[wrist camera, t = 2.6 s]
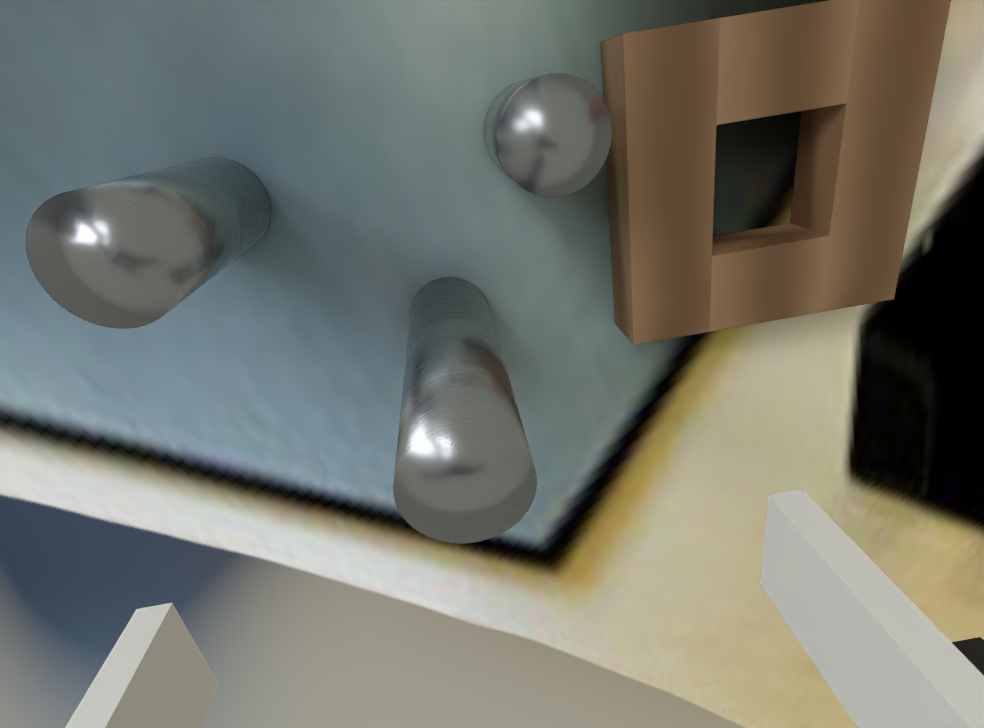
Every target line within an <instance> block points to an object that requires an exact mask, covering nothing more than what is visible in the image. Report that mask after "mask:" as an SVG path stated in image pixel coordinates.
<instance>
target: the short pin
mask: <svg viewBox="0 0 984 728" xmlns="http://www.w3.org/2000/svg"><path fill="white" fill-rule="evenodd" d="M611 137H612V127H611V119H610V115H609V111H608V109H607V106H606V104H605V102H604V100H603V98H602V97H601V96H600V94H599V93H598V92H597V91H596V89H595V88H594V87H593V86H591V85H590V84H589V83H588V82H586V81H584V80H583V79H581V78H579V77H576V76H573V75H569V74H561V73H555V74H548V75H544V76H540V77H536V78H533V79H529V80H525V81H522V82H518V83H515V84H513V85H510V86H509V87H507V88H505V89H504V90H503V91H502V92H500V93H499V94H498V95H497V96H496V98H495V99H494V100H493V102H492V104H491V105H490V107H489V109H488V112H487V115H486V118H485V123H484V139H485V144H486V147H487V150H488V152H489V154H490V156H491V158H492V159H493V161H494V162H495V163H496V164H497V165H498V166H499V167H500V168H501V169H502V170H503V171H504V172H506V173H507V174H508V175H509V176H510V177H511V178H512V179H513V180H515V181H516V182H517V183H518V184H519V185H520V186H521V187H523V188H524V189H526V190H527V191H529V192H531V193H534V194H537V195H540V196H545V197H560V196H565V195H568V194H571V193H574V192H576V191H578V190H580V189H581V188H583V187H584V186H586V185H587V184H588V183H589V182H590V181H591V180H592V179H593V178H594V177H595V176H596V175H597V174H598V172H599V171H600V169H601V168H602V166H603V164H604V162H605V160H606V158H607V155H608V153H609V149H610V145H611Z"/></svg>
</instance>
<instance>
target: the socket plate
mask: <svg viewBox="0 0 984 728" xmlns="http://www.w3.org/2000/svg"><path fill="white" fill-rule="evenodd" d="M950 2H951V0H829V1H823V2H817V3H810V4H804V5H798V6H792V7H786V8H779V9H773V10H767V11H761V12H754V13H748V14H742V15H736V16H730V17H723V18H717V19H711V20H705V21H698V22H692V23H686V24H680V25H674V26H667V27H661V28H655V29H649V30H642V31H636V32H630V33H624V34H621V35H618V36H616V37H613V38H610V39H608V40H605V41H602V42H601V55H602V75H603V95H604V102H605V104H606V106H607V109H608V111H609V115H610V119H611V127H612V137H611V145H610V149H609V153H608V155H607V176H608V196H609V217H610V237H611V257H612V277H613V297H614V318H615V324H616V325H617V326H618V327H619V328H620V330H621V331H622V332H623V333H624V334H625V335H626V337H627V338H628V339H629V340H630V341H631V342H632V344H633V345H637V344H642V343H648V342H654V341H659V340H665V339H671V338H676V337H682V336H688V335H693V334H699V333H705V332H710V331H716V330H722V329H727V328H733V327H738V326H744V325H750V324H755V323H761V322H767V321H772V320H778V319H784V318H789V317H795V316H801V315H806V314H812V313H818V312H823V311H829V310H835V309H840V308H846V307H851V306H857V305H863V304H868V303H874V302H880V301H885V300H891V299H894V296H895V290H896V285H897V280H898V275H899V270H900V264H901V259H902V254H903V249H904V243H905V238H906V233H907V228H908V222H909V217H910V212H911V207H912V201H913V196H914V191H915V186H916V181H917V175H918V170H919V165H920V160H921V154H922V149H923V144H924V139H925V133H926V128H927V123H928V118H929V112H930V107H931V102H932V97H933V91H934V86H935V81H936V76H937V71H938V65H939V60H940V55H941V50H942V44H943V39H944V34H945V29H946V23H947V18H948V13H949V8H950ZM798 111H801V116H800V127H799V137H798V148H797V158H796V168H795V179H794V189H793V200H792V210H791V221H790V223H788V224H782V225H776V226H770V227H764V228H758V229H753V230H747V231H741V232H735V233H729V234H724V235H718V236H713V212H714V182H715V153H716V125H719V124H725V123H731V122H737V121H743V120H749V119H755V118H761V117H767V116H773V115H780V114H786V113H792V112H798Z"/></svg>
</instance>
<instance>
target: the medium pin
mask: <svg viewBox="0 0 984 728" xmlns="http://www.w3.org/2000/svg"><path fill="white" fill-rule="evenodd" d="M271 216H272V208H271V202H270V198H269V195H268V193H267V191H266V189H265V187H264V185H263V184H262V182H261V181H260V180H259V179H258V177H257V176H256V175H255V174H254V173H253V172H251V171H250V170H249V169H247V168H246V167H245V166H243V165H241V164H239V163H237V162H235V161H232V160H228V159H223V158H209V159H204V160H200V161H196V162H192V163H188V164H183V165H179V166H175V167H171V168H166V169H162V170H158V171H154V172H149V173H145V174H141V175H137V176H133V177H128V178H124V179H120V180H116V181H111V182H107V183H103V184H99V185H95V186H90V187H86V188H82V189H78V190H73V191H69V192H65V193H61V194H59V195H56V196H54V197H52V198H51V199H49V200H47V201H46V202H44V203H43V204H42V205H41V206H40V207H39V208H38V209H37V211H36V212H35V213H34V214H33V216H32V218H31V220H30V222H29V225H28V229H27V234H26V250H27V256H28V259H29V263H30V266H31V268H32V270H33V272H34V274H35V276H36V278H37V280H38V281H39V283H40V284H41V286H42V287H43V288H44V289H45V291H46V292H47V293H48V294H49V295H50V296H51V297H52V298H53V299H54V300H55V301H56V302H57V303H58V304H59V305H61V306H62V307H63V308H65V309H66V310H68V311H69V312H70V313H72V314H74V315H76V316H77V317H79V318H81V319H84V320H86V321H88V322H91V323H94V324H97V325H100V326H105V327H110V328H136V327H140V326H144V325H147V324H150V323H152V322H154V321H156V320H157V319H159V318H161V317H162V316H163V315H164V314H166V313H167V312H168V311H169V310H171V309H172V308H173V307H175V306H176V305H177V304H178V303H180V302H181V301H182V300H184V299H185V298H186V297H187V296H189V295H190V294H191V293H192V292H194V291H195V290H196V289H198V288H199V287H200V286H201V285H203V284H204V283H205V282H207V281H208V280H209V279H210V278H212V277H213V276H214V275H215V274H217V273H218V272H219V271H221V270H222V269H223V268H224V267H226V266H227V265H228V264H230V263H231V262H232V261H233V260H235V259H236V258H237V257H239V256H240V255H241V254H242V253H244V252H245V251H246V250H247V249H249V248H250V247H251V246H253V245H254V244H255V243H256V242H258V241H259V240H260V239H261V238H262V237H263V236H264V235H265V233H266V232H267V230H268V228H269V225H270V222H271Z"/></svg>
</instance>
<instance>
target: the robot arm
mask: <svg viewBox="0 0 984 728" xmlns="http://www.w3.org/2000/svg"><path fill="white" fill-rule="evenodd" d="M760 585H761V587H762V588H763V590H764V591H765V593H766V594H767V596H768V597H769V599H770V600H771V602H772V603H773V604H774V606H775V607H776V609H777V610H778V612H779V613H780V615H781V616H782V618H783V619H784V621H785V622H786V623H787V625H788V626H789V628H790V629H791V631H792V632H793V634H794V635H795V637H796V638H797V640H798V641H799V642H800V644H801V645H802V647H803V648H804V650H805V651H806V653H807V654H808V656H809V657H810V659H811V660H812V662H813V663H814V664H815V666H816V667H817V669H818V670H819V672H820V673H821V675H822V676H823V678H824V679H825V681H826V682H827V683H828V685H829V686H830V688H831V689H832V691H833V692H834V694H835V695H836V697H837V698H838V700H839V701H840V702H841V704H842V705H843V707H844V708H845V710H846V711H847V713H848V714H849V716H850V717H851V719H852V720H853V721H854V723H855V724H856V726H857V727H858V728H984V640H983V639H982V638H980V637H978V638H973V639H968V640H962V641H957V642H951V641H950V640H949V639H948V638H947V637H946V636H945V635H944V634H943V633H942V632H941V631H940V630H939V629H938V628H937V627H936V626H935V625H934V624H933V623H932V622H931V621H930V620H929V619H928V618H927V617H926V616H925V615H924V614H923V613H922V612H921V611H920V609H919V608H918V607H917V606H916V605H915V604H914V603H913V602H912V601H911V600H910V599H909V598H908V597H907V596H906V595H905V594H904V593H903V592H902V591H901V590H900V589H899V588H898V587H897V586H896V585H895V584H894V583H893V582H892V581H891V580H890V579H889V578H888V577H887V575H886V574H885V573H884V572H883V571H882V570H881V569H880V568H879V567H878V566H877V565H876V564H875V563H874V562H873V561H872V560H871V559H870V558H869V557H868V556H867V555H866V554H865V553H864V552H863V551H862V550H861V549H860V548H859V547H858V546H857V545H856V544H855V543H854V541H853V540H852V539H851V538H850V537H849V536H848V535H847V534H846V533H845V532H844V531H843V530H842V529H841V528H840V527H839V526H838V525H837V524H836V523H835V522H834V521H833V520H832V519H831V518H830V517H829V516H828V515H827V514H826V513H825V512H824V511H823V510H822V509H821V507H820V506H819V505H818V504H817V503H816V502H815V501H814V500H813V499H812V498H811V497H810V496H809V495H808V494H807V493H806V492H805V491H804V490H803V489H797V490H792V491H786V492H781V493H775V494H770V495H768V504H767V514H766V525H765V536H764V547H763V557H762V568H761V579H760ZM218 685H219V684H218V682H217V681H216V679H215V677H214V675H213V674H212V672H211V670H210V669H209V667H208V665H207V663H206V661H205V660H204V658H203V656H202V654H201V653H200V651H199V649H198V647H197V646H196V644H195V642H194V640H193V638H192V637H191V635H190V633H189V632H188V630H187V628H186V626H185V624H184V623H183V621H182V619H181V617H180V615H179V614H178V612H177V610H176V608H175V607H174V605H173V603H169V604H162V605H157V606H152V607H146V608H141V609H136V611H135V613H134V614H133V616H132V618H131V619H130V621H129V623H128V624H127V626H126V628H125V629H124V631H123V633H122V634H121V636H120V638H119V639H118V641H117V643H116V644H115V646H114V648H113V649H112V651H111V653H110V654H109V656H108V658H107V659H106V661H105V663H104V664H103V666H102V668H101V669H100V671H99V673H98V674H97V676H96V678H95V679H94V681H93V683H92V684H91V686H90V687H89V689H88V691H87V692H86V694H85V696H84V697H83V699H82V701H81V702H80V704H79V706H78V708H77V709H76V711H75V712H74V714H73V716H72V717H71V719H70V721H69V722H68V724H67V726H66V727H65V728H202V727H203V725H204V722H205V720H206V717H207V714H208V712H209V709H210V706H211V704H212V701H213V698H214V696H215V693H216V691H217V688H218Z"/></svg>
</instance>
